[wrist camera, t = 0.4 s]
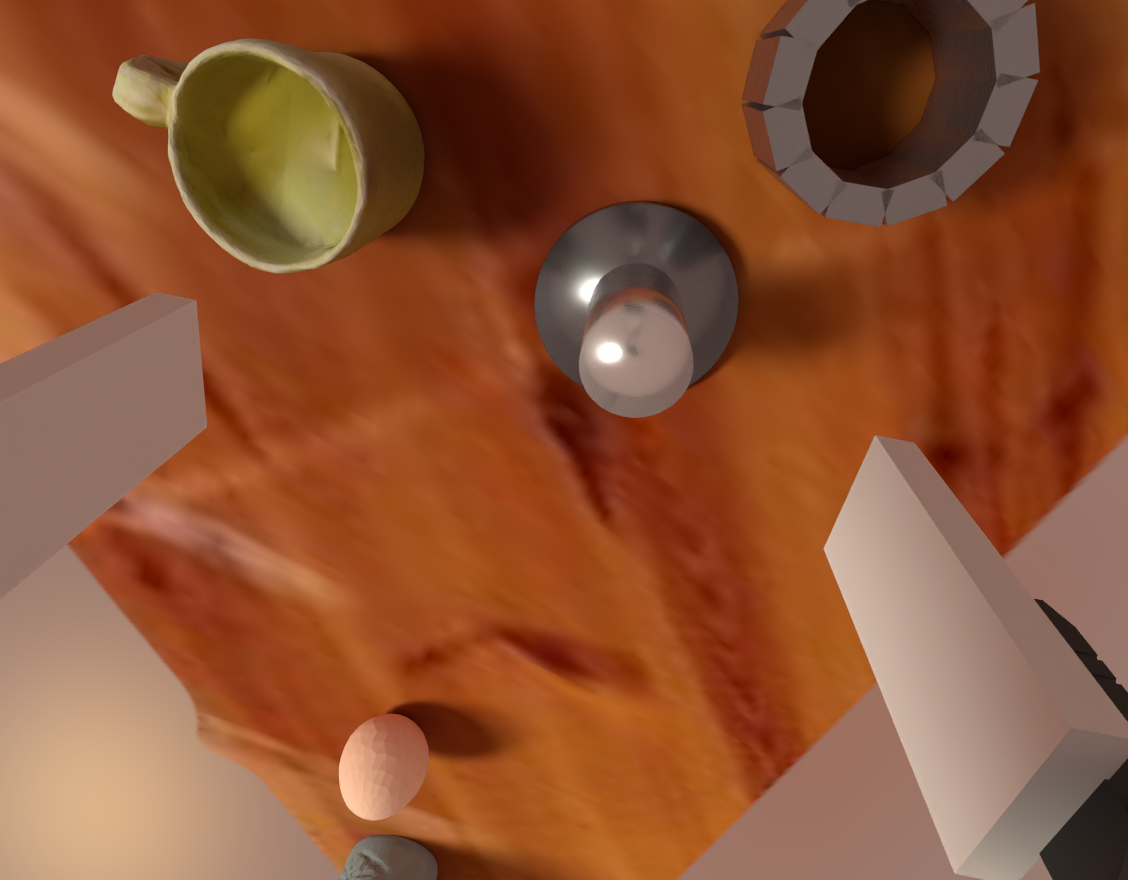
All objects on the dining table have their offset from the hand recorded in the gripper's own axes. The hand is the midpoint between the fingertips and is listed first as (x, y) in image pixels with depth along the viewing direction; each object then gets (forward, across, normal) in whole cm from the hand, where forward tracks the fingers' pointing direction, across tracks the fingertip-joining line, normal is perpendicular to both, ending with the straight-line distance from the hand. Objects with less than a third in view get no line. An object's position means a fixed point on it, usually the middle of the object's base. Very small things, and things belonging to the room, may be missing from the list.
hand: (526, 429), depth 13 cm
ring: (+25, +11, +8) cm, 29 cm away
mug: (+26, -15, +1) cm, 30 cm away
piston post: (+25, +3, -5) cm, 26 cm away
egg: (+26, -8, -43) cm, 51 cm away
